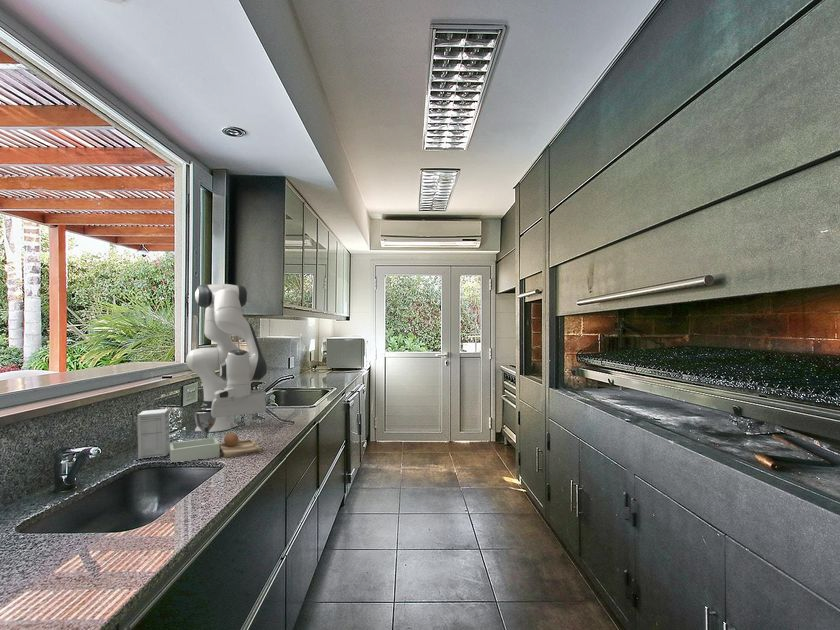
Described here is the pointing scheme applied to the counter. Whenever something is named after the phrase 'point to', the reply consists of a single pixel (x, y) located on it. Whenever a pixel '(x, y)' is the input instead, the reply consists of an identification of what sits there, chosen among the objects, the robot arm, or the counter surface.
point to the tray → (240, 448)
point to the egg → (231, 439)
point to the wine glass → (204, 420)
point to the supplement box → (153, 433)
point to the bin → (194, 449)
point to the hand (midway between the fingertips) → (239, 426)
